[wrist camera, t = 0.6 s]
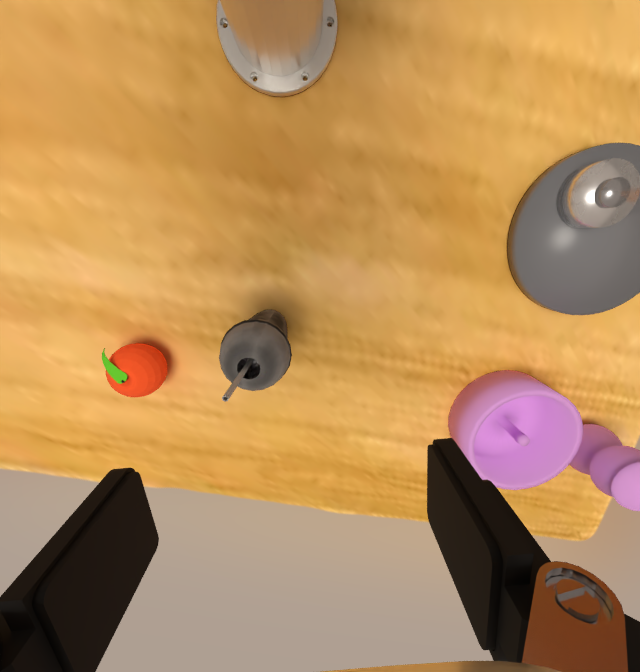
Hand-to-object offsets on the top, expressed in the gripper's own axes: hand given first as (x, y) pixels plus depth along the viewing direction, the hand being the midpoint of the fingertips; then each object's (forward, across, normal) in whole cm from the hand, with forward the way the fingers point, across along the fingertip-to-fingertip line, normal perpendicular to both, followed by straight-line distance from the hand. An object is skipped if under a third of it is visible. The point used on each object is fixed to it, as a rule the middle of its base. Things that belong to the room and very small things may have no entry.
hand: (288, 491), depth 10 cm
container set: (+35, -32, +22) cm, 52 cm away
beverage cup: (+35, +5, +3) cm, 35 cm away
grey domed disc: (+34, -36, -5) cm, 50 cm away
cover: (+32, -34, -9) cm, 48 cm away
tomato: (+35, +23, +6) cm, 42 cm away
